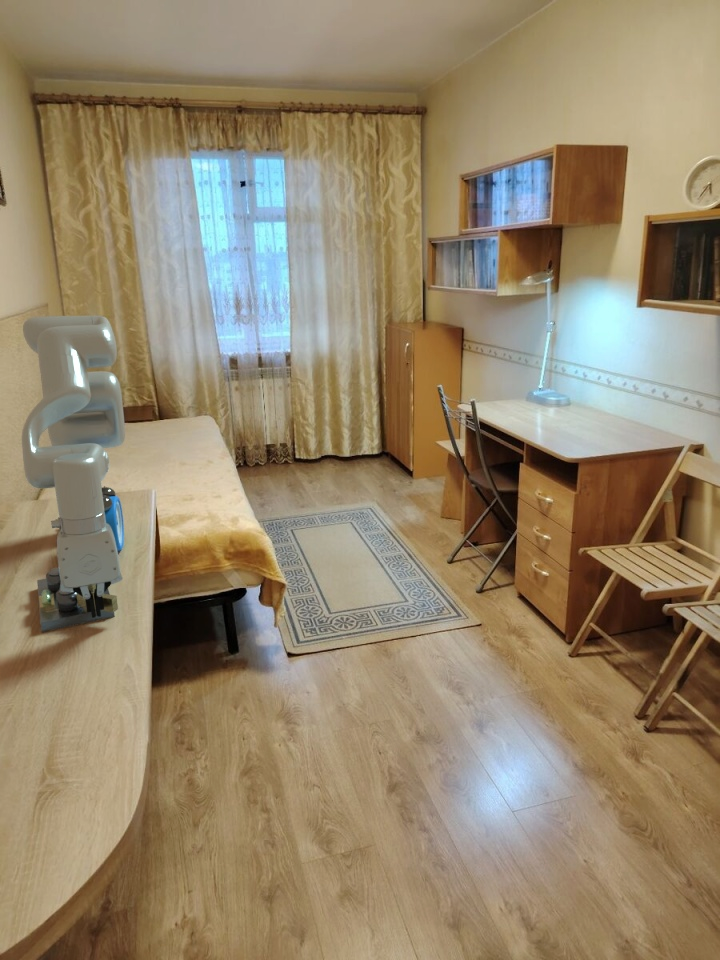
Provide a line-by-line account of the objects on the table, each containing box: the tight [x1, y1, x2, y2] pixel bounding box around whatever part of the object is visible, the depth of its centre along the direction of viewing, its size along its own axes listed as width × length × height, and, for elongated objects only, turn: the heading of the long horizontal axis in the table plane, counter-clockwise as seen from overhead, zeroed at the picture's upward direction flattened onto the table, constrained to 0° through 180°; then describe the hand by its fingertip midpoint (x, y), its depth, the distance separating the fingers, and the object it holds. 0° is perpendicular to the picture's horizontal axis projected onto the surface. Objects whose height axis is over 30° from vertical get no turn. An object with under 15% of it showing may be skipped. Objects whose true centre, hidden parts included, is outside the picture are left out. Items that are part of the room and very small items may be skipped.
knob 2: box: [56, 589, 119, 613], centre depth 129 cm, size 13×4×4 cm, turn 73°
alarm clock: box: [102, 485, 125, 553], centre depth 160 cm, size 13×6×15 cm, turn 13°
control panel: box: [36, 578, 115, 633], centre depth 136 cm, size 20×13×4 cm, turn 26°
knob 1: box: [45, 566, 96, 592], centre depth 136 cm, size 13×4×4 cm, turn 64°
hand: (96, 613), depth 126 cm, fingers closed
